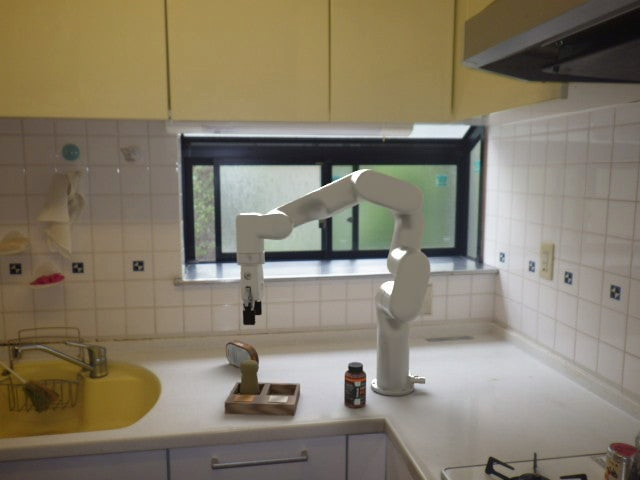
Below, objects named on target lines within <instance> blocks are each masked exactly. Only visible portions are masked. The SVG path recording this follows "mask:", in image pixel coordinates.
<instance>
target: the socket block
mask: <svg viewBox="0 0 640 480" xmlns="http://www.w3.org/2000/svg"><path fill="white" fill-rule="evenodd" d="M258 384H259V391H260V395H242V394H240V387H241V381H236V383H235V384H234V386H233V388H232V389H231V391H230V393H229V395H228V396H227V398H226V400H225V401H224V414H225V415H226V414H227V415H228V414H231V415H233V414H234V415H259V416H260V415H263V416H293V417H294V416H295V414H296V411H297V406H298V403H299V400H300V395H301V383H298V382H297V383H295V382H293V383H291V382H290V383H289V382H259V381H258Z"/></svg>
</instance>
